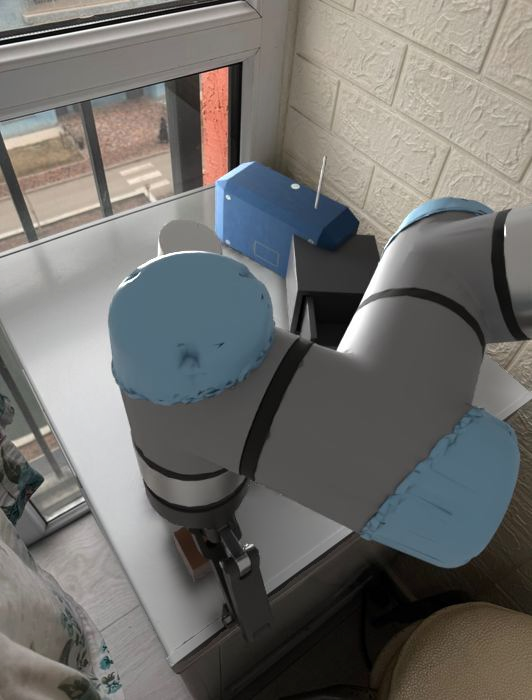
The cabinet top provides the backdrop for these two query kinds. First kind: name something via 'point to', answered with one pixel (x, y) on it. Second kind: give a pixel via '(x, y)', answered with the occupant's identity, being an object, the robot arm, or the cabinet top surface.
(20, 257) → the cabinet top surface
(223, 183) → the radio
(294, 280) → the cabinet
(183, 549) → the block
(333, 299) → the drawer
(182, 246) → the smart speaker
